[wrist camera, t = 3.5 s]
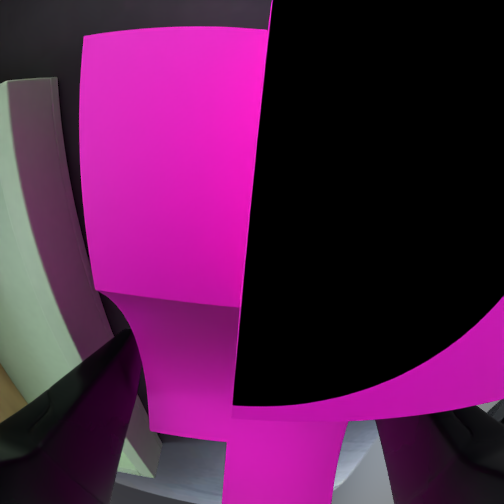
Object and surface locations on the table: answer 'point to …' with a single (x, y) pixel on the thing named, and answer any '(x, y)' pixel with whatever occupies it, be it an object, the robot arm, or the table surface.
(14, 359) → the frame
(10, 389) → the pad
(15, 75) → the table surface
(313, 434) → the toy block
